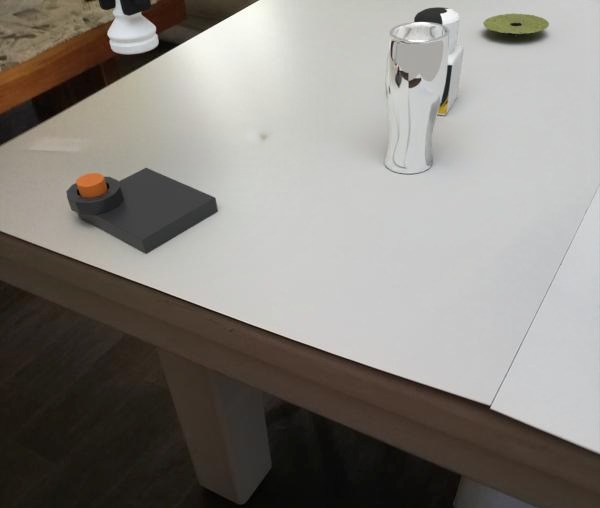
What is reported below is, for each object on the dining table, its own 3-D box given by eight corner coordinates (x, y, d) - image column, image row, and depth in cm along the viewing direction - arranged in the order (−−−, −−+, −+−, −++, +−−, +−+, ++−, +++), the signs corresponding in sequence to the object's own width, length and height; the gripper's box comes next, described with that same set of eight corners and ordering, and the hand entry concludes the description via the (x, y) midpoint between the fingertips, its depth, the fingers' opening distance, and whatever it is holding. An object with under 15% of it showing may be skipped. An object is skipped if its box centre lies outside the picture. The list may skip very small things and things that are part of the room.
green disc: (468, 35, 107) (469, 23, 105) (508, 21, 111) (511, 9, 110) (518, 50, 101) (521, 37, 99) (559, 34, 105) (562, 21, 103)
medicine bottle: (397, 111, 87) (404, 17, 78) (411, 92, 91) (418, 2, 82) (445, 116, 84) (458, 20, 76) (457, 97, 89) (470, 4, 80)
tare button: (74, 193, 69) (70, 181, 68) (97, 182, 70) (93, 170, 69) (90, 201, 67) (86, 189, 66) (113, 190, 69) (109, 177, 68)
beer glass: (369, 163, 76) (374, 32, 65) (407, 145, 79) (417, 17, 68) (409, 181, 72) (421, 46, 61) (447, 162, 75) (465, 29, 64)
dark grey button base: (66, 219, 71) (56, 192, 68) (144, 179, 77) (137, 152, 74) (138, 259, 64) (130, 231, 62) (218, 212, 70) (213, 184, 68)
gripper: (-34, -257, 48) (49, 7, 61) (83, -273, 40) (149, 33, 54) (45, -261, 51) (107, -11, 65) (167, -276, 44) (208, 11, 57)
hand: (125, 7), depth 59 cm, fingers closed on chess pawn, 2 cm apart
